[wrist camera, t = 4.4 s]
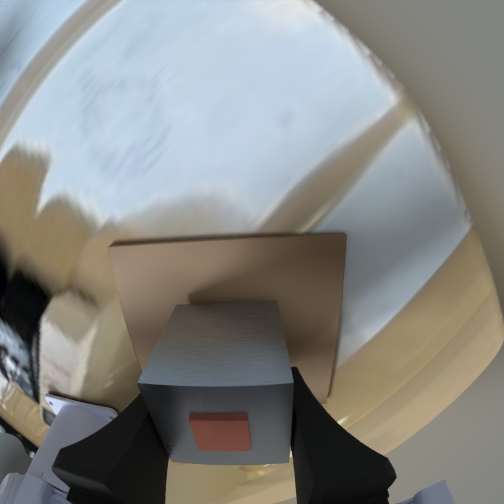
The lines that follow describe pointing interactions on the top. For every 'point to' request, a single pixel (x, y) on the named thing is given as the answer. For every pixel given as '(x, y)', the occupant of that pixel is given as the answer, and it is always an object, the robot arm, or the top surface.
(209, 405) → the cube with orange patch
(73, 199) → the top surface
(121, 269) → the board
